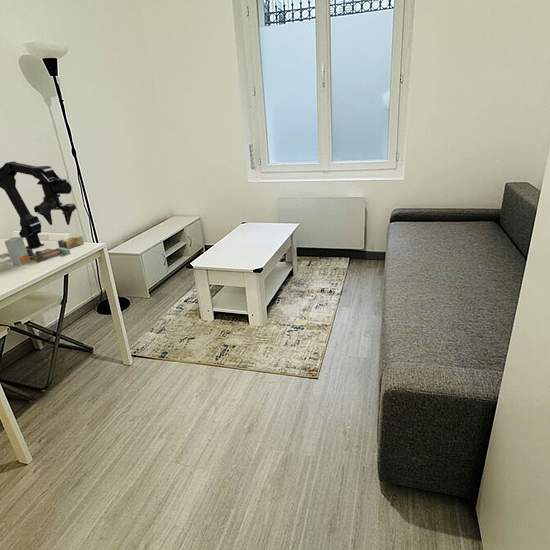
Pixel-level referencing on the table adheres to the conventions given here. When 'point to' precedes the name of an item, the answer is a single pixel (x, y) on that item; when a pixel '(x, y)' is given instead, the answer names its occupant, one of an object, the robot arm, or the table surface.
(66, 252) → the socket cleat
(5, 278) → the table surface
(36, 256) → the stool seat
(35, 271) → the table surface
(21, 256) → the skincare box
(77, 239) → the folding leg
